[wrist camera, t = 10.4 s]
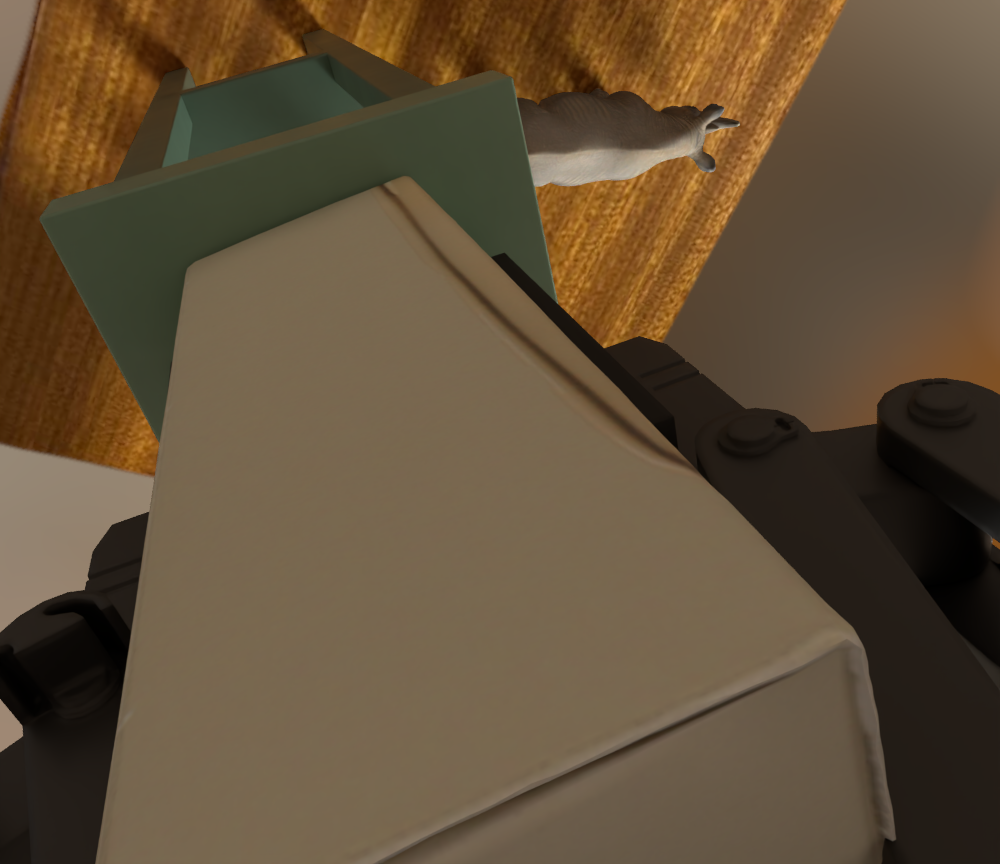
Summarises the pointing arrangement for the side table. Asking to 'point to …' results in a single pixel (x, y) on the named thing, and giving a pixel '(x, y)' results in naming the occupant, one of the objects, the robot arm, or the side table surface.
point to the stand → (262, 102)
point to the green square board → (291, 207)
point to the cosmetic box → (457, 592)
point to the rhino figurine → (611, 136)
